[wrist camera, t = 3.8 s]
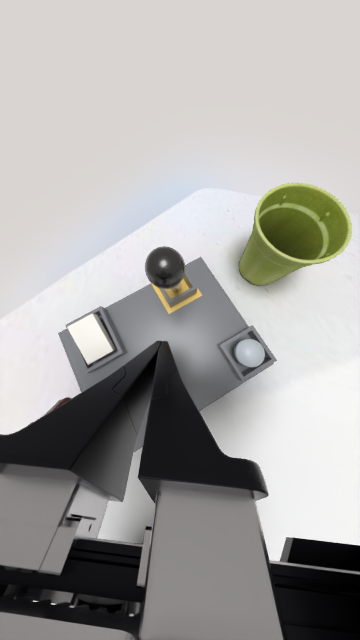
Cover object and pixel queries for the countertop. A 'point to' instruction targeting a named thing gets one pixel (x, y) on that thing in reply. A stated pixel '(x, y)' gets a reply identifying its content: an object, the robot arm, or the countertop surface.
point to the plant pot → (294, 232)
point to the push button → (249, 352)
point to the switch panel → (175, 337)
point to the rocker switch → (91, 338)
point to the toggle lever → (165, 268)
